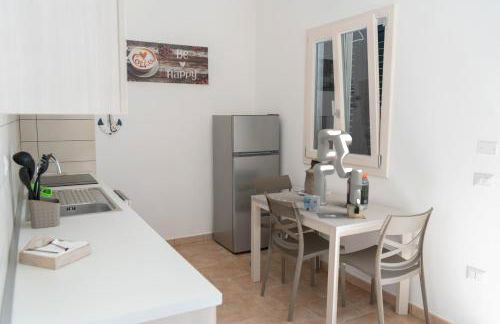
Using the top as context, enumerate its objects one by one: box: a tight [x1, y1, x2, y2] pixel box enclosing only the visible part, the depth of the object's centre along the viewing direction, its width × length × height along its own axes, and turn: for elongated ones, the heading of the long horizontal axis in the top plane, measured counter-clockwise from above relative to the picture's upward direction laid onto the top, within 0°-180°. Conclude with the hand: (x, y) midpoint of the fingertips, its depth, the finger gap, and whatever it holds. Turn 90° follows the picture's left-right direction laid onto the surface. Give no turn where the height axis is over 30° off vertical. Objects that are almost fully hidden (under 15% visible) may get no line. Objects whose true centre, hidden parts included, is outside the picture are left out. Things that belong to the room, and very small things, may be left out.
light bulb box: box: [302, 194, 321, 213], centre depth 281 cm, size 11×7×11 cm, turn 62°
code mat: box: [315, 212, 346, 220], centre depth 266 cm, size 14×17×1 cm
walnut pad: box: [343, 212, 367, 220], centre depth 266 cm, size 12×12×1 cm
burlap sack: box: [297, 157, 332, 197], centre depth 338 cm, size 25×25×32 cm
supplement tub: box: [346, 172, 370, 210], centre depth 291 cm, size 16×16×26 cm
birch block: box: [346, 203, 364, 217], centre depth 266 cm, size 6×9×7 cm, turn 91°
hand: (354, 212), depth 266 cm, fingers open, 8 cm apart
